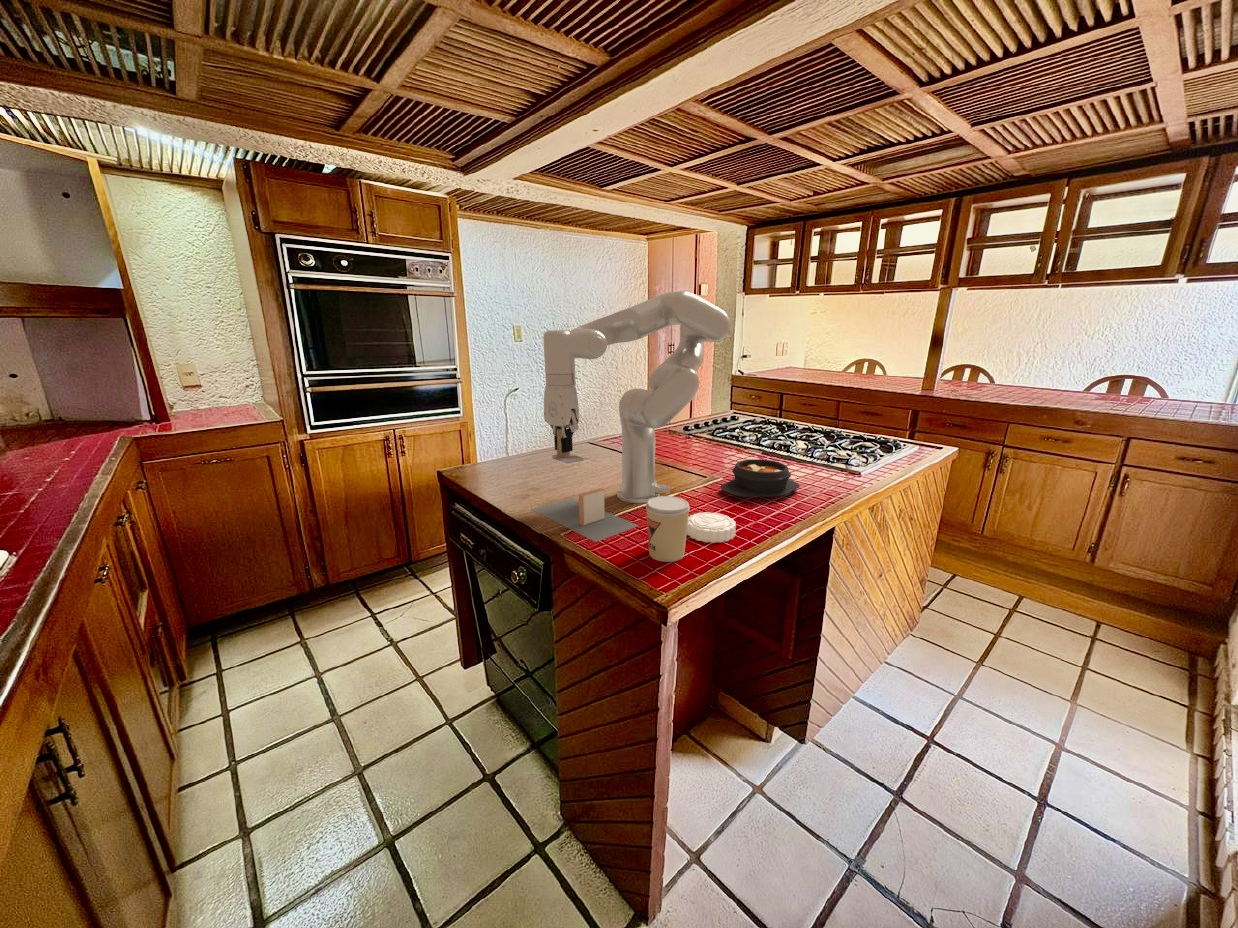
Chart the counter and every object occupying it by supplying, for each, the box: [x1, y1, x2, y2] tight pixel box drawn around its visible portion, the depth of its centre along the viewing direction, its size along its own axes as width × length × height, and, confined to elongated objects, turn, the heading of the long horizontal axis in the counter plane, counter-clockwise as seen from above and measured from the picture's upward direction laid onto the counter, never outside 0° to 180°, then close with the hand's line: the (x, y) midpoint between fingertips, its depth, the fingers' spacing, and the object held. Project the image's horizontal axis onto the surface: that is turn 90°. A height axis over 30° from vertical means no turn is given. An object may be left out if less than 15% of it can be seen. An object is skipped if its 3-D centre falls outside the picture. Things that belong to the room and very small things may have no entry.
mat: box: [531, 497, 639, 543], centre depth 126 cm, size 28×14×1 cm, turn 42°
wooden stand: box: [551, 428, 584, 464], centre depth 125 cm, size 7×5×8 cm
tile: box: [578, 488, 606, 526], centre depth 122 cm, size 2×7×8 cm, turn 132°
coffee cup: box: [645, 495, 690, 563], centre depth 104 cm, size 9×9×12 cm
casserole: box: [719, 458, 801, 499], centre depth 144 cm, size 25×19×8 cm
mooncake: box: [686, 511, 737, 544], centre depth 116 cm, size 12×12×4 cm
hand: (563, 450), depth 127 cm, fingers closed on wooden stand
